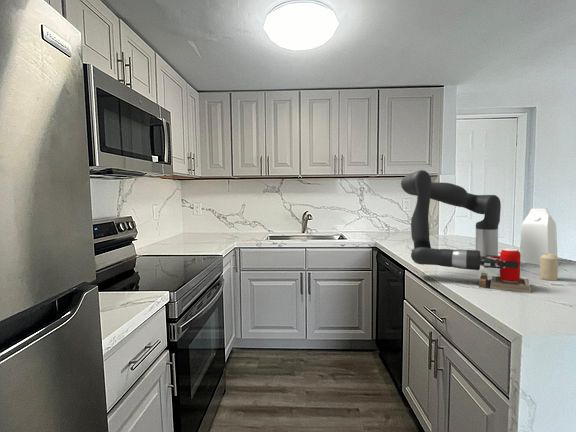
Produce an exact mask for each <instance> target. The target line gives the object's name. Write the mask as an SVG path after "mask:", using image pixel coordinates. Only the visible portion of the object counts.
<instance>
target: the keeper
mask: <svg viewBox="0 0 576 432" xmlns="http://www.w3.org/2000/svg"><path fill="white" fill-rule="evenodd" d="M530 285H531V283H530V282H529V279H528V278H523V277H522V278H521V277H520V280H519V281H518V282H516V283H507V282H504V281H502V280H501V279H500V275H492V277H491V280H490V287H489V289H490V290H499V289H501V290H500V291H509V292H518V293H519V292H520V293H530V294H532V289H531V286H530Z"/></svg>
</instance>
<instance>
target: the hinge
mask: <svg viewBox="0 0 576 432" xmlns="http://www.w3.org/2000/svg"><path fill="white" fill-rule="evenodd" d="M406 248H407V249H408V250H409V251H410V252H412V251H413V250H414V242H413V240H412V239H411V240H410V243H408V244H407V245H406Z"/></svg>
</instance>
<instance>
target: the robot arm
mask: <svg viewBox="0 0 576 432" xmlns="http://www.w3.org/2000/svg"><path fill="white" fill-rule="evenodd" d="M400 186H401V188H402V190H403V191H404V192H405V193H406V194H408V195H411V196H414V197H415V196H416V197H417V200H416V203H415V208H414V211H413V213H412V215H411V216H412V217H411V219H410V220H411V221H410V231H411V240H413V242H414V250H413V249H412V251H411V253H410V257H411V258H410V259H411V260H412V261H413V263H416V264H418V265H421V266H425V265H427V266H430V265H431V266H440V267H446V268H455V269H463V270H473V271H479V270H480V269H481V266H482V267H483V268H484V269H499V270H500V269H503V268H506V267H508V268H518V262H513V261H504V260H500V255H499V225H500V222H501V210H502V207H501V200H500V199H501V198H499V196H497V195H495V194H474V193H473V194H472V193H469V192H468V191H467V190H466V189H465V188H464V187H462V186H460V185H458V184H457V185H456V184H454V183H449V182H435V181H434V182H433V181H432V176H431V175H430V174H429V172H428V171H426V170H423V169H420V170H417V171H413V172H411V173H409V174H407V175H405V176H404V177H402V180H401V182H400ZM431 200H433V201H435V202H436V201H437V202H441V203H444V204H446V205H450V206H454V207H458V208H463V209H466V210H469V211H471V212H473V213H475V214H479V215H483V217H484V218H482V220H480V221H478V222H476V223H475V249H474V250H473V249H462V248H461V249H459V248H458V249H457V248H456V249H450V248H449V249H448V248H432V246H431V241H430V226H429V223H430V222H429V221H430V220H429V216H430V215H429V212H430V203H431Z"/></svg>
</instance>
